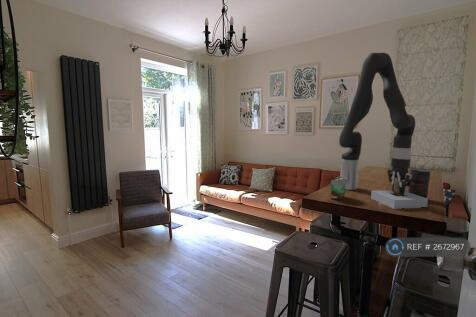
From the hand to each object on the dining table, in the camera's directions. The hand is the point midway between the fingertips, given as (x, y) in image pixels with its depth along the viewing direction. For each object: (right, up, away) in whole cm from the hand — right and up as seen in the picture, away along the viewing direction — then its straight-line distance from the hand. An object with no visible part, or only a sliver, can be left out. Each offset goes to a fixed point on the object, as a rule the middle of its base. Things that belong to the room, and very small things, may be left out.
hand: (398, 192), depth 117 cm
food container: (-24, -4, +9) cm, 26 cm away
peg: (0, -3, 0) cm, 3 cm away
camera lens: (+14, -4, +6) cm, 15 cm away
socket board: (0, -5, +1) cm, 5 cm away
